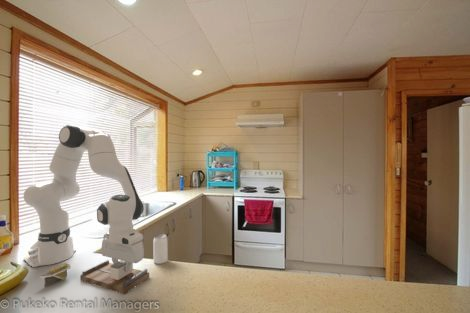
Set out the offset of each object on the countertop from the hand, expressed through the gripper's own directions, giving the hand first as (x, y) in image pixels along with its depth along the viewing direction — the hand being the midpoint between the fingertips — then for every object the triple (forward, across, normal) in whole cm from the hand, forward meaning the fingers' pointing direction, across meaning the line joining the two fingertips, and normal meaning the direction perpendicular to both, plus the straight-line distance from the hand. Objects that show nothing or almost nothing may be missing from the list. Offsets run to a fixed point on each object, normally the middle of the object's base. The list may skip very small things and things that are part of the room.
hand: (122, 269), depth 89 cm
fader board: (+5, -4, 0) cm, 6 cm away
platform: (+5, -25, -10) cm, 27 cm away
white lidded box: (+2, 0, 0) cm, 2 cm away
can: (+5, +3, +19) cm, 20 cm away
